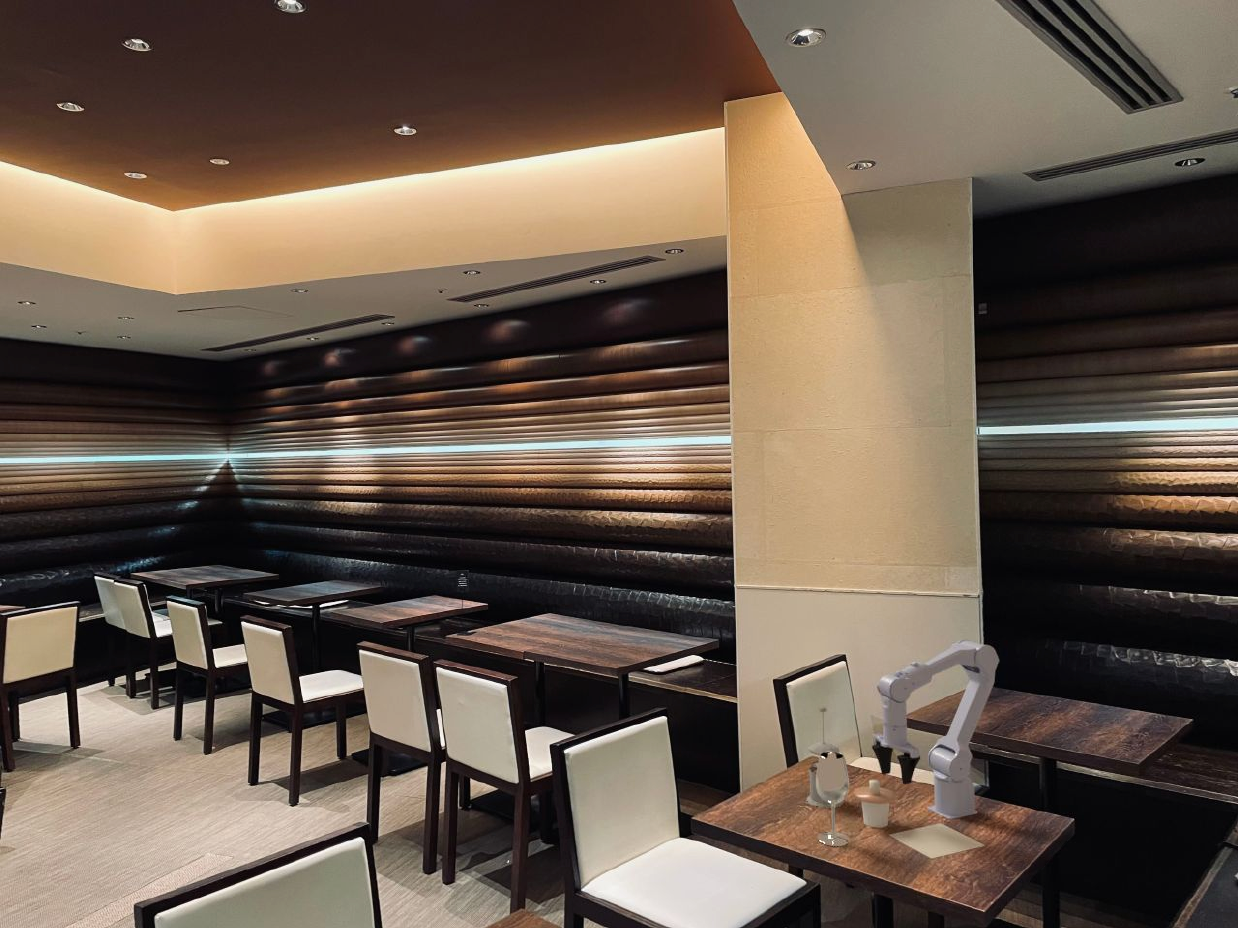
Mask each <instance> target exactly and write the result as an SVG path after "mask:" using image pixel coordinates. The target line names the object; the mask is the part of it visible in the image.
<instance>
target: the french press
mask: <svg viewBox="0 0 1238 928" xmlns="http://www.w3.org/2000/svg"><path fill="white" fill-rule="evenodd" d="M818 711H819V712H822V713H825V712H827V707H826V706H821V707H819V709H818ZM824 717H825V716H824V714H822V731H823V732H822V740H823V741H822V742H815V743H813V744H811V745H809V747H808V751H809V752H810V753H811V754H814V755H817V756H820V754H821V753H823V752H838V753H840V748H839V747H837V746H836V745H833V744H832V743H829V742H826V741H825V728H824V727H825V723H824V720H825V719H824ZM844 759H845V763H846V764H847V760H846V758H845V757H844ZM818 762H819V759H816V760H813V761H811V762H810V767H809V795H808V796H807V797H806V799H807V800H806V802H807V801H808V802H807V803H808V804H809V803H810V804H809V805H811V804H812V805H811V806H813V805H815V806H814V807H816V806H818V808H823V807H825V808H823V809H831V805H830V804H829V803H827V802H826V801H824V800H823V799H822V798H821V797H820V796H819V794H818V792H817V789H816V773H817V767H818ZM815 771H816V772H815ZM843 802H844V800H843V801H842V802H840V803H838V804H836V806H835V808H838V806H839V807H841V806H840V805H841V804H843ZM843 805H844V804H843Z"/></svg>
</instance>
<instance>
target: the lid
mask: <svg viewBox="0 0 1238 928" xmlns="http://www.w3.org/2000/svg"><path fill="white" fill-rule="evenodd" d="M868 784H869V786H861V787H856V788H855V789H854V790H853V795H854V798H856V799H858V800H859V801H861V802H862V801H864V802H868V803H874V804H886V803H889V804H891V803H893V802H895V801H896V800H897V794H896V793H895V792H894V791H893V790H891V789H888V788H885V787H881V782H880V780H878V779H869V783H868Z"/></svg>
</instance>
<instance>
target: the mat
mask: <svg viewBox="0 0 1238 928" xmlns="http://www.w3.org/2000/svg"><path fill="white" fill-rule="evenodd" d="M888 836H890V837H891V838H892V839H894V840H897V841H899V842H900V843H902V844H904V845H906V846H907V847H910V848H911V849H913V850H915V851H917V852H919V853H920V854H921V855H924V856H925V857H927V858H929V859H931V860H932V859H936V858H940V857H945V856H949V855H953V854H957V853H961V852H964V851H968V850H969V851H970V850H974V849H977V848H982V847H986V845H985V844H984V843H981V842H979V841H977V840H975V839H973V838H971V837H969V836H967V835H964V834H963V833H961V832H959V831H956V830H955V829H953V828H951V827H949V826H947V825H945V824H943V823H936V824H931V825H930V824H929V825H927V826H923V827H918V828H914V829H909V830H904V831H900V832H895V833H891V834H888Z"/></svg>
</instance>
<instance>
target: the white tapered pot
mask: <svg viewBox="0 0 1238 928" xmlns="http://www.w3.org/2000/svg"><path fill="white" fill-rule="evenodd" d="M861 808H862V817H863V823H864V825H866V826H868V827H871V828H885V827H887V826H888V823H889V813H890V811H889V810H890V803H886V804H874V803H868V802H864V801H861Z"/></svg>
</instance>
